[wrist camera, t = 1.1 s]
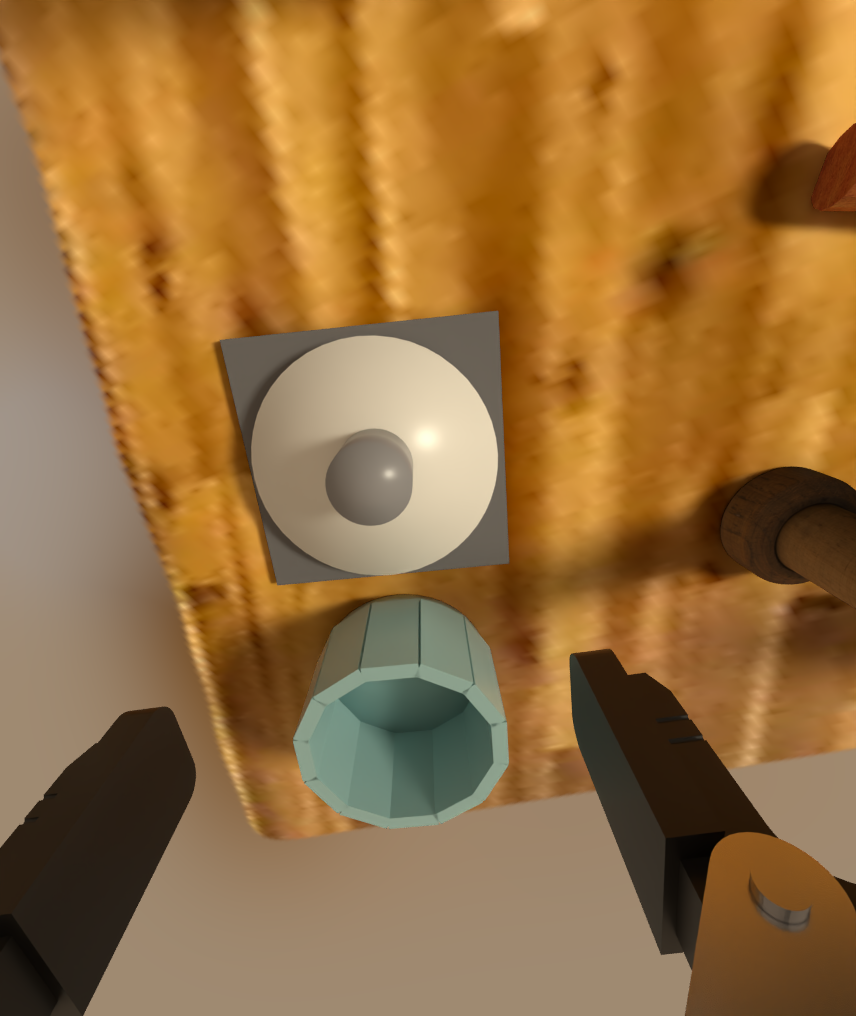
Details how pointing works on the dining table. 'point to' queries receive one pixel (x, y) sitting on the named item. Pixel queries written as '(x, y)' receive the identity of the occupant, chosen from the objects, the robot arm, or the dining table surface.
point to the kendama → (838, 176)
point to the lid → (374, 455)
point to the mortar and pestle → (795, 530)
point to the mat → (452, 337)
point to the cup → (403, 715)
